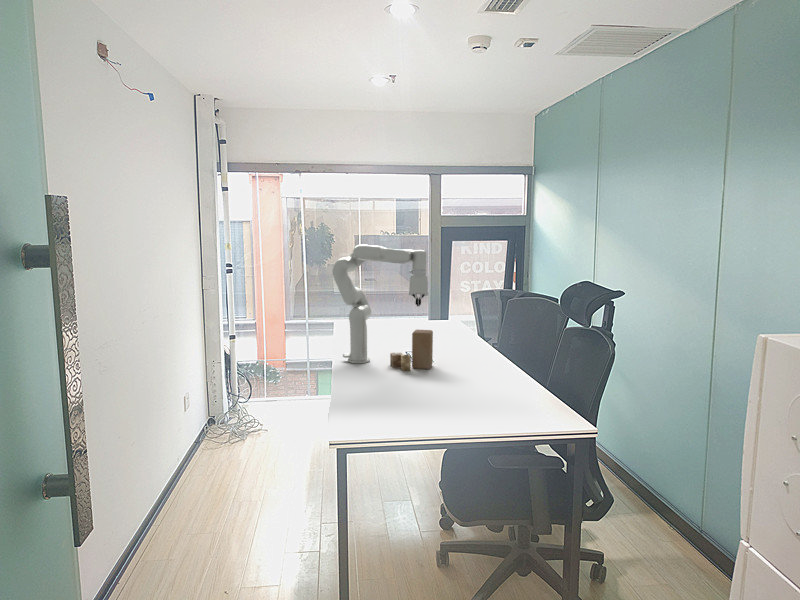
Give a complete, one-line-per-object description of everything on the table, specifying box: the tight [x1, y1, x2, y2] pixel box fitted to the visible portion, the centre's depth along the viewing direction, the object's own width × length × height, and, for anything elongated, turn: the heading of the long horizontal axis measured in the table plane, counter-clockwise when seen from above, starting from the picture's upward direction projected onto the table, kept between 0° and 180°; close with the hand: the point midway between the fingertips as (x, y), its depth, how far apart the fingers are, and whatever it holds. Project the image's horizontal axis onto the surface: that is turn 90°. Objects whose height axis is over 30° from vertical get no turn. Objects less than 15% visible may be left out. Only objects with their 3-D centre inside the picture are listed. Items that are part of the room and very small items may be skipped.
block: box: [411, 329, 434, 370], centre depth 307 cm, size 10×10×20 cm
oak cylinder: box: [400, 354, 412, 372], centre depth 301 cm, size 5×5×8 cm
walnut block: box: [389, 352, 404, 369], centre depth 309 cm, size 6×6×7 cm
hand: (418, 306), depth 308 cm, fingers closed
